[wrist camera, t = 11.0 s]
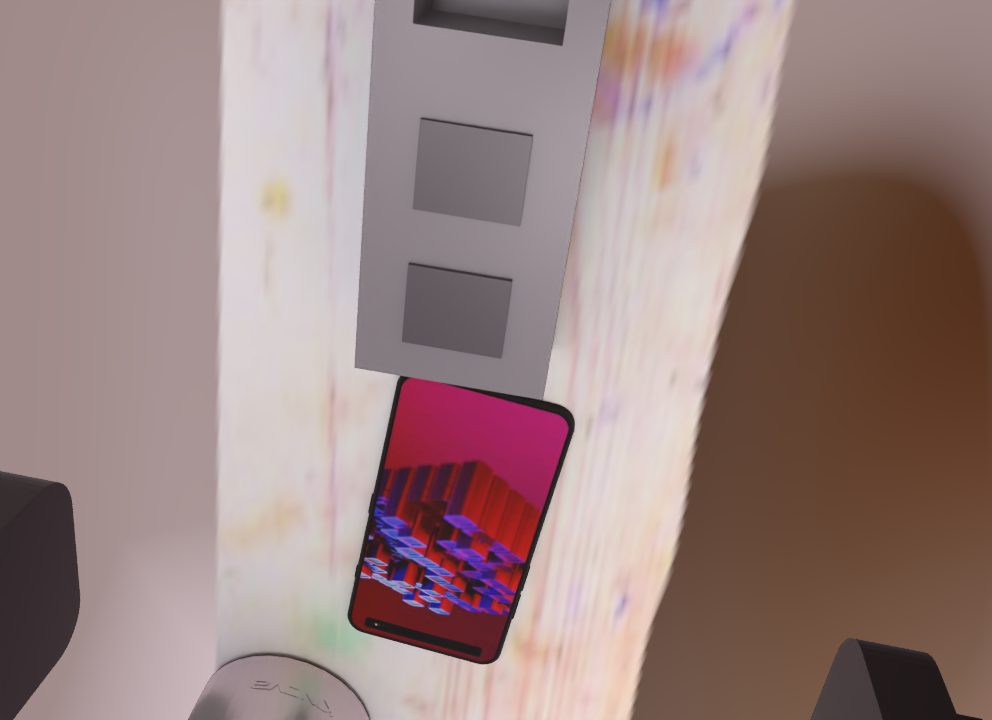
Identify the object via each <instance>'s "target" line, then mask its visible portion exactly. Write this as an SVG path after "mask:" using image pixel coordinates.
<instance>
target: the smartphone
mask: <svg viewBox="0 0 992 720" xmlns="http://www.w3.org/2000/svg"><path fill="white" fill-rule="evenodd" d="M574 425H575V423H574V418H573V416H572V414H571V413H570V412H569V411H568V410H567V409H566V408H564V407H562V406H560V405H557V404H554V403H550V402H543V401H540V400H536V399H532V398H528V397H522V396H516V395H510V394H505V393H499V392H493V391H487V390H481V389H476V388H470V387H464V386H458V385H452V384H447V383H441V382H435V381H429V380H424V379H418V378H412V377H406V376H400V378H399V380H398V382H397V386H396V391H395V396H394V400H393V405H392V410H391V414H390V419H389V424H388V428H387V433H386V438H385V442H384V447H383V452H382V456H381V461H380V466H379V470H378V475H377V480H376V484H375V489H374V494H372V498H371V502H370V507H369V512H368V513H369V517H368V522H367V526H366V531H365V536H364V540H363V545H362V550H361V554H360V559H359V564H358V565H357V568H356V573H355V577H356V578H355V582H354V587H353V592H352V596H351V601H350V606H349V610H348V620H349V622H350V624H351V625H352V626H353V627H354V628H355V629H357V630H358V631H361V632H364V633H367V634H371V635H375V636H378V637H382V638H386V639H389V640H393V641H397V642H400V643H404V644H408V645H411V646H415V647H419V648H422V649H426V650H430V651H433V652H437V653H441V654H444V655H448V656H452V657H455V658H459V659H463V660H466V661H470V662H474V663H477V664H489V663H492V662H494V661H496V660H497V659H498V658H499V656H500V654H501V651H502V648H503V644H504V641H505V638H506V635H507V632H508V629H509V626H510V623H511V620H512V619H513V618H514V615H515V612H516V609H517V606H518V602H519V599H520V596H521V595H520V593H521V591H522V590H523V587H524V584H525V581H526V578H527V575H528V572H529V569H530V563H531V560H532V557H533V553H534V550H535V547H536V544H537V541H538V538H539V535H540V532H541V529H542V526H543V523H544V520H545V517H546V514H547V511H548V508H549V505H550V502H551V499H552V496H553V493H554V490H555V487H556V484H557V481H558V478H559V475H560V472H561V469H562V466H563V462H564V459H565V456H566V453H567V450H568V447H569V444H570V441H571V438H572V435H573V432H574Z"/></svg>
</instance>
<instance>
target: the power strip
mask: <svg viewBox="0 0 992 720" xmlns="http://www.w3.org/2000/svg"><path fill="white" fill-rule="evenodd" d="M610 3H611V0H375V8H374V26H373V44H372V63H371V81H370V99H369V117H368V135H367V153H366V171H365V189H364V207H363V225H362V243H361V261H360V279H359V297H358V315H357V333H356V351H355V368H360V369H366V370H371V371H377V372H383V373H389V374H395V375H400V376H406V377H412V378H418V379H424V380H429V381H435V382H441V383H447V384H452V385H458V386H464V387H470V388H476V389H481V390H487V391H493V392H499V393H505V394H510V395H516V396H522V397H528V398H534V399H539V400H543V396H544V391H545V385H546V379H547V373H548V367H549V362H550V356H551V350H552V344H553V338H554V332H555V326H556V321H557V315H558V309H559V303H560V297H561V291H562V285H563V279H564V274H565V268H566V262H567V256H568V250H569V244H570V238H571V232H572V227H573V221H574V215H575V209H576V203H577V197H578V191H579V185H580V180H581V174H582V168H583V162H584V156H585V150H586V144H587V138H588V133H589V127H590V121H591V115H592V109H593V103H594V97H595V91H596V86H597V80H598V74H599V68H600V62H601V56H602V50H603V44H604V39H605V33H606V27H607V21H608V15H609V9H610Z"/></svg>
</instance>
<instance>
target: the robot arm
mask: <svg viewBox="0 0 992 720" xmlns="http://www.w3.org/2000/svg"><path fill="white" fill-rule="evenodd" d="M79 606H80V589H79V579H78V566H77V554H76V544H75V531H74V520H73V508H72V500H71V496H70V492H69V490H68V489H67V487H66V486H65V485H64V484H61V483H58V482H53V481H48V480H43V479H38V478H32V477H27V476H22V475H17V474H11V473H6V472H1V471H0V720H13V719H14V718H15V717H16V715H17V714H18V713H19V711H20V710H21V709H22V707H23V706H24V705H25V704H26V702H27V701H28V700H29V698H30V697H31V695H32V694H33V693H34V692H35V690H36V689H37V688H38V686H39V685H40V684H41V683H42V681H43V680H44V679H45V677H46V676H47V675H48V673H49V672H50V671H51V669H52V668H53V667H54V666H55V664H56V663H57V662H58V660H59V659H60V658H61V656H62V655H63V653H64V651H65V649H66V648H67V646H68V644H69V642H70V639H71V637H72V634H73V632H74V629H75V626H76V622H77V618H78V614H79V608H80V607H79ZM188 720H369V717H368V715H367V713H366V711H365V709H364V706H363V705H362V703H361V702H360V701H359V699H358V698H357V697H356V695H355V694H354V693H353V692H352V691H351V690H350V689H349V688H348V687H347V686H345V685H344V684H343V683H342V682H341V681H340V680H338V679H337V678H335V677H334V676H332V675H330V674H329V673H327V672H326V671H324V670H322V669H319V668H317V667H315V666H313V665H311V664H308V663H305V662H302V661H298V660H295V659H291V658H286V657H278V656H252V657H247V658H243V659H238V660H235V661H233V662H231V663H229V664H227V665H225V666H223V667H222V668H220V669H219V670H218V671H217V672H216V673H214V674H213V675H212V677H211V678H210V680H209V681H208V683H207V684H206V686H205V688H204V690H203V692H202V694H201V696H200V697H199V699H198V701H197V703H196V705H195V707H194V709H193V711H192V713H191V715H190V717H189V719H188ZM810 720H982V719H980V718H974V717H969V716H964V715H959V714H957V713H956V711H955V709H954V706H953V703H952V701H951V698H950V696H949V694H948V691H947V689H946V686H945V683H944V681H943V678H942V676H941V673H940V671H939V669H938V666H937V664H936V662H935V660H934V659H933V658H932V657H931V656H930V655H929V654H928V653H925V652H920V651H915V650H910V649H905V648H899V647H895V646H890V645H884V644H879V643H874V642H869V641H863V640H858V639H853V638H848V639H846V640H845V641H844V642H843V643H842V644H841V646H840V647H839V649H838V652H837V654H836V656H835V658H834V661H833V663H832V666H831V669H830V671H829V674H828V676H827V679H826V682H825V684H824V686H823V689H822V691H821V694H820V697H819V699H818V702H817V704H816V707H815V709H814V712H813V714H812V717H811V719H810Z"/></svg>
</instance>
